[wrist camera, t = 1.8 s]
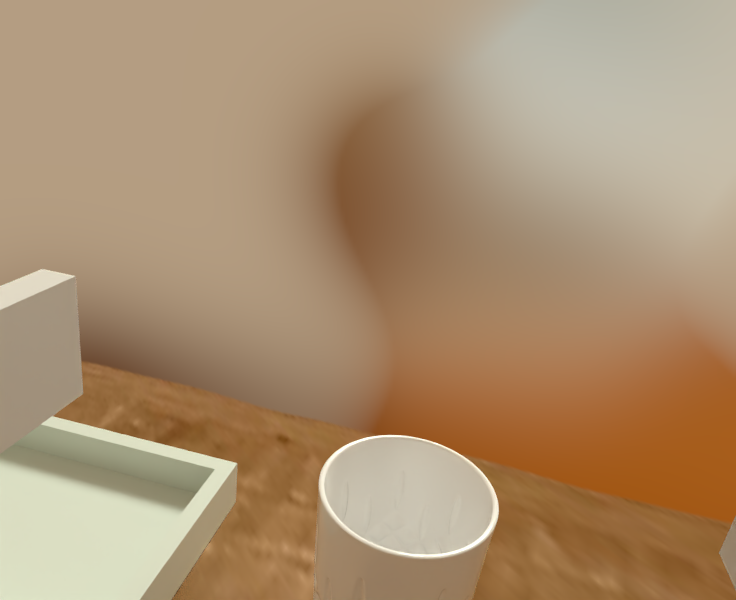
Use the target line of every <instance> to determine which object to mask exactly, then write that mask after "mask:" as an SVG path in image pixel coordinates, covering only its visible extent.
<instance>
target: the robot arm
mask: <svg viewBox="0 0 736 600" xmlns="http://www.w3.org/2000/svg"><path fill="white" fill-rule="evenodd" d="M82 394H83V384H82V368H81V353H80V337H79V322H78V305H77V289H76V276H73V275H68V274H63V273H58V272H54V271H49V270H44V269H42V270H39V271H36V272H34V273H31V274H29V275H27V276H24V277H21V278H19V279H16V280H14V281H12V282H9V283H6V284H4V285H1V286H0V454H1V453H2V452H4V451H5V450H6V449H8V448H9V447H10V446H12V445H13V444H15V443H16V442H17V441H19V440H20V439H21V438H23V437H24V436H26V435H27V434H28V433H30V432H31V431H32V430H34V429H35V428H37V427H38V426H39V425H41V424H42V423H43V422H45V421H46V420H48V419H49V418H50V417H52V416H53V415H54V414H56V413H57V412H59V411H60V410H61V409H63V408H64V407H65V406H67V405H68V404H70V403H71V402H72V401H74V400H75V399H76V398H78V397H79V396H81V395H82ZM719 553H720V556H721V558H722V560H723V563H724V565H725V567H726V569H727V572H728V574H729V576H730V579H731V581H732V583H733V585H734V588H735V590H736V517H735V519H734V521H733V523H732V525H731V528H730V530H729V532H728V534H727V537H726V539H725V541H724V543H723V545H722V548H721V550H720V552H719Z"/></svg>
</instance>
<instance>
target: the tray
mask: <svg viewBox="0 0 736 600" xmlns="http://www.w3.org/2000/svg"><path fill="white" fill-rule="evenodd" d="M236 484H237V463H234V462H230V461H226V460H222V459H218V458H214V457H210V456H206V455H202V454H199V453H195V452H191V451H187V450H183V449H179V448H175V447H171V446H167V445H163V444H159V443H155V442H151V441H147V440H143V439H139V438H135V437H132V436H128V435H124V434H120V433H116V432H112V431H108V430H104V429H100V428H96V427H92V426H88V425H84V424H80V423H76V422H72V421H68V420H65V419H61V418H57V417H53V416H52V417H50V418H49V419H48V420H46V421H45V422H43V423H42V424H41V425H39V426H38V427H37V428H35V429H34V430H32V431H31V432H30V433H28V434H27V435H26V436H24V437H23V438H21V439H20V440H19V441H17V442H16V443H15V444H13V445H12V446H10V447H9V448H8V449H6V450H5V451H4V452H2V453H1V454H0V600H172V598H173V597H174V595H175V594H176V592H177V591H178V589H179V587H180V586H181V584H182V583H183V581H184V580H185V578H186V577H187V575H188V574H189V572H190V571H191V569H192V568H193V566H194V565H195V563H196V562H197V560H198V559H199V557H200V555H201V554H202V552H203V551H204V549H205V548H206V546H207V545H208V543H209V542H210V540H211V539H212V537H213V536H214V534H215V533H216V531H217V530H218V528H219V527H220V525H221V523H222V522H223V520H224V519H225V517H226V516H227V514H228V513H229V511H230V510H231V508H232V507H233V505H234V504H235V502H236Z"/></svg>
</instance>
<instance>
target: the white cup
mask: <svg viewBox="0 0 736 600" xmlns="http://www.w3.org/2000/svg"><path fill="white" fill-rule="evenodd" d="M498 513H499V507H498V500H497V496H496V493H495V491H494V489H493V487H492V485H491V483H490V482H489V480H488V479H487V478H486V476H485V475H484V474H483V473H482V472H481V471H480V470H479V469H478V468H477V467H476V466H475V465H474V464H473V463H472V462H470V461H469V460H468V459H466V458H465V457H463V456H462V455H460V454H459V453H457V452H455V451H453V450H451V449H449V448H447V447H445V446H442V445H440V444H437V443H434V442H431V441H428V440H424V439H420V438H415V437H410V436H400V435H381V436H373V437H367V438H363V439H360V440H357V441H354V442H351V443H349V444H347V445H345V446H343V447H342V448H340V449H339V450H337V451H336V452H335V453H334V454H332V455H331V456H330V458H329V459H328V460H327V461H326V463H325V464H324V466H323V468H322V470H321V473H320V477H319V486H318V506H317V523H316V541H315V558H314V564H315V568H314V598H313V600H472V599H473V596H474V593H475V590H476V587H477V584H478V580H479V577H480V574H481V571H482V567H483V564H484V561H485V558H486V554H487V551H488V548H489V545H490V542H491V539H492V535H493V532H494V529H495V526H496V523H497V519H498Z"/></svg>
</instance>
